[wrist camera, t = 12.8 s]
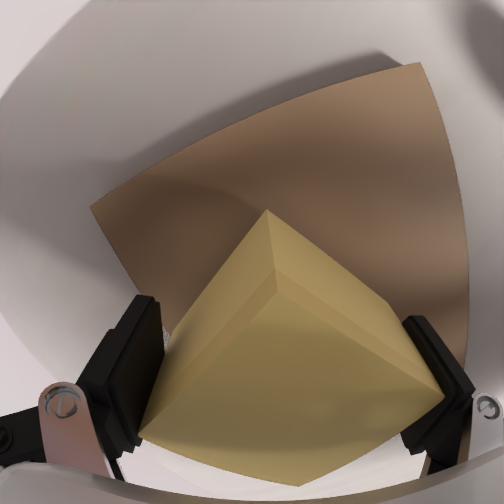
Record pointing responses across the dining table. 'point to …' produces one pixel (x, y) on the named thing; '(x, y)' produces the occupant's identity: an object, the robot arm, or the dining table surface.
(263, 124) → the board
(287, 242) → the tan cardboard cube
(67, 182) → the dining table surface
